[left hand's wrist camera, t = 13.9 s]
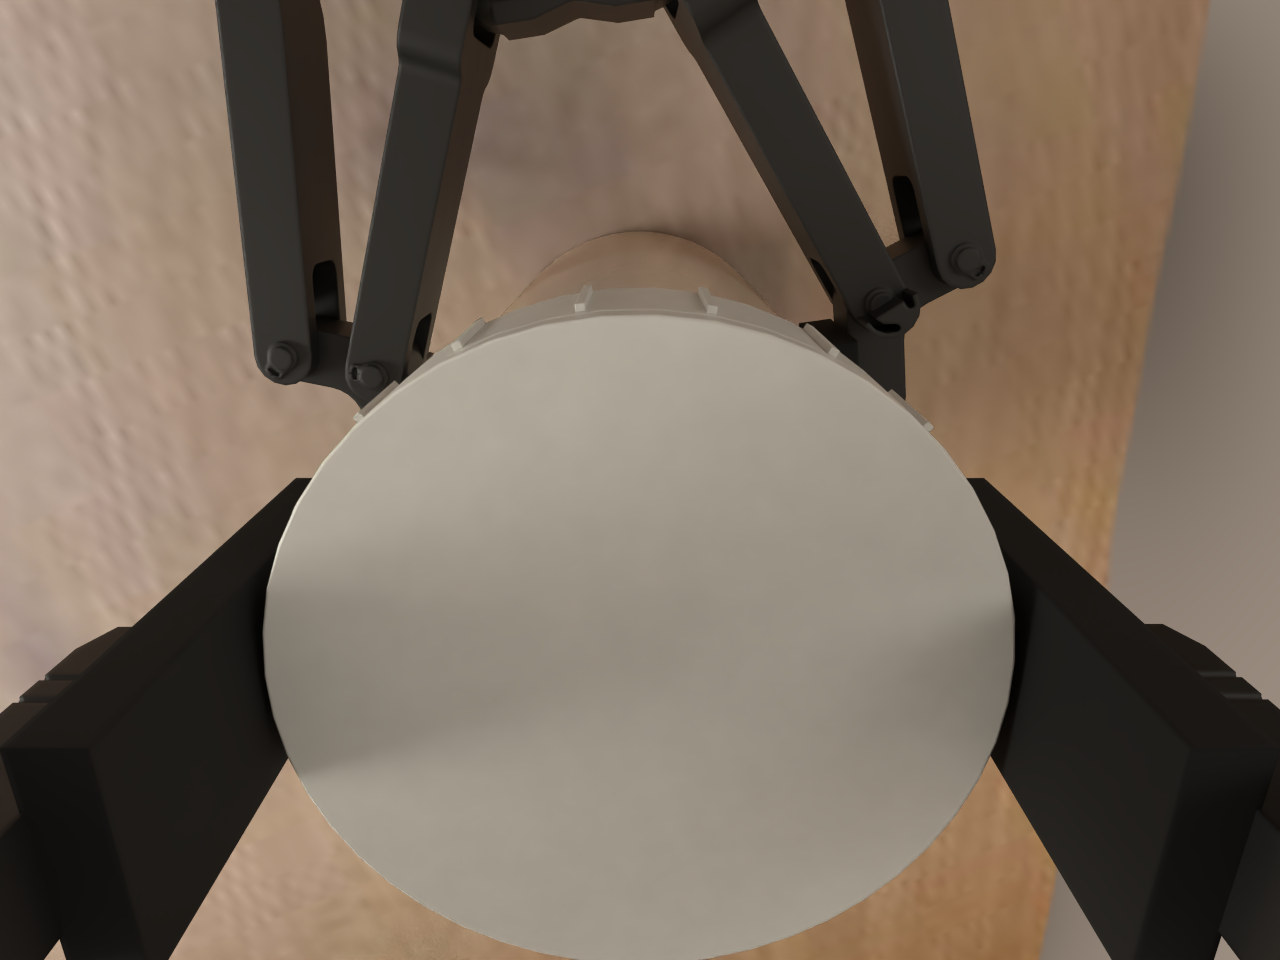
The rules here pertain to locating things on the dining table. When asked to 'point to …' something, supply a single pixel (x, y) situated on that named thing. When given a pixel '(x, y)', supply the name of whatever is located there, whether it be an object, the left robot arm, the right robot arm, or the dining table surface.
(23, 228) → the dining table surface
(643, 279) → the jar
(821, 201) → the right robot arm
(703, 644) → the lid
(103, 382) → the dining table surface
